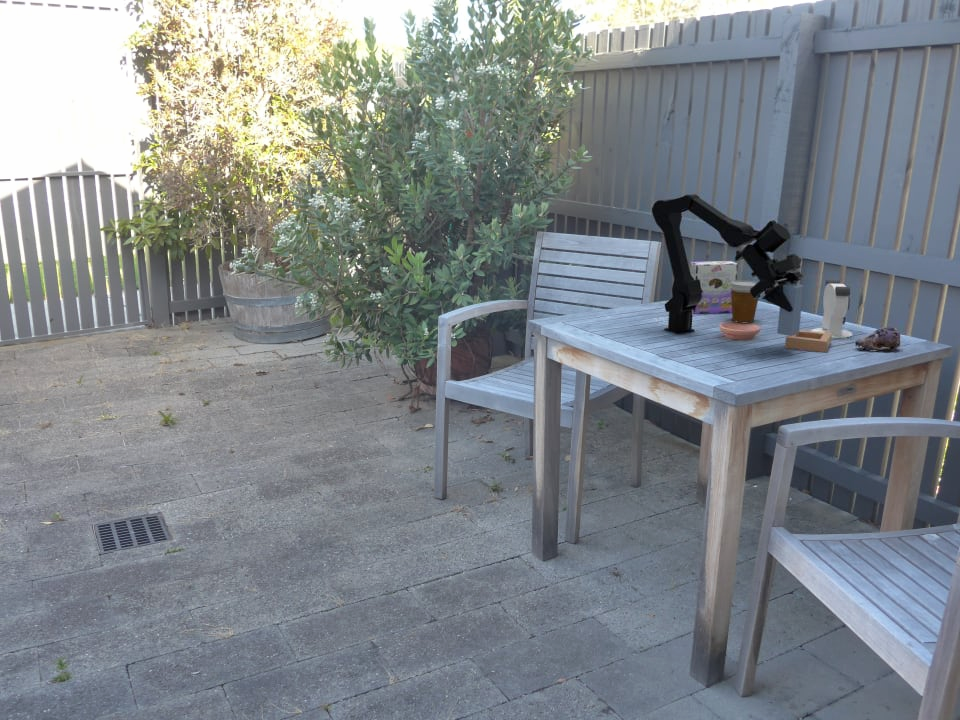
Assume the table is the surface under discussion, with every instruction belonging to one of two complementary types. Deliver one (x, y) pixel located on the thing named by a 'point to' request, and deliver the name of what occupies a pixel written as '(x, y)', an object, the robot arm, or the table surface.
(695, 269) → the candy box
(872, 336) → the skull
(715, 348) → the table surface
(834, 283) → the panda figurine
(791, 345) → the frame
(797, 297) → the post
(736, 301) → the disposable coffee cup
